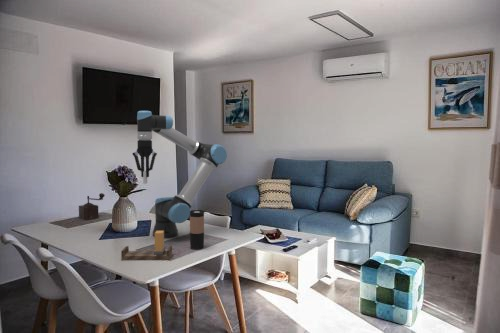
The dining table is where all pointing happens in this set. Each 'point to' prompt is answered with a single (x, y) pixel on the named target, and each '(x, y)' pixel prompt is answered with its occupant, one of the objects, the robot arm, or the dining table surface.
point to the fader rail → (145, 255)
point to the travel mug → (197, 229)
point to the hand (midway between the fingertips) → (145, 183)
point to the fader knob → (159, 243)
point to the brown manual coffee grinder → (89, 209)
